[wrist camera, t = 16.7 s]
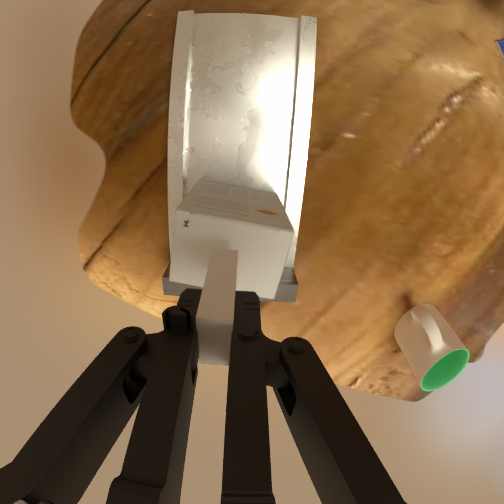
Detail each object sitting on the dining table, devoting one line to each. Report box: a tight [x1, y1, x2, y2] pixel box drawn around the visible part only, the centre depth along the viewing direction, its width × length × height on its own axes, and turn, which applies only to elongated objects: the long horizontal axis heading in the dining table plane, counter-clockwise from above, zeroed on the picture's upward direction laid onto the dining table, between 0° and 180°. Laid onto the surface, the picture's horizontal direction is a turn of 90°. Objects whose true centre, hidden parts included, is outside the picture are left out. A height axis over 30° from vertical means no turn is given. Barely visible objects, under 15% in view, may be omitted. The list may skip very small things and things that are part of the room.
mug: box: [394, 303, 469, 391], centre depth 32 cm, size 12×8×10 cm
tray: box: [162, 10, 317, 302], centre depth 24 cm, size 28×13×6 cm, turn 176°
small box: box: [169, 179, 295, 300], centre depth 24 cm, size 8×6×10 cm
